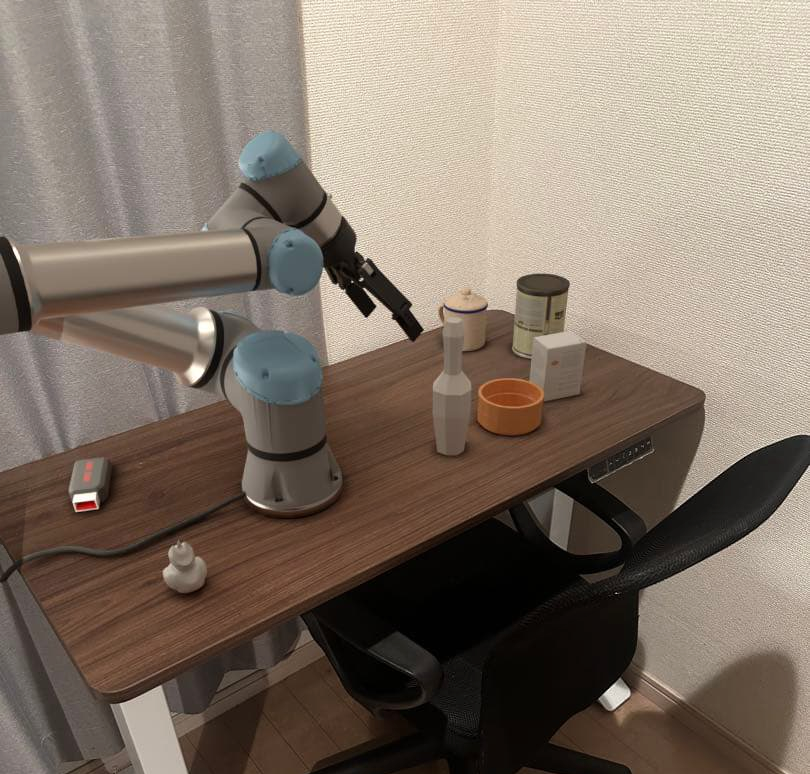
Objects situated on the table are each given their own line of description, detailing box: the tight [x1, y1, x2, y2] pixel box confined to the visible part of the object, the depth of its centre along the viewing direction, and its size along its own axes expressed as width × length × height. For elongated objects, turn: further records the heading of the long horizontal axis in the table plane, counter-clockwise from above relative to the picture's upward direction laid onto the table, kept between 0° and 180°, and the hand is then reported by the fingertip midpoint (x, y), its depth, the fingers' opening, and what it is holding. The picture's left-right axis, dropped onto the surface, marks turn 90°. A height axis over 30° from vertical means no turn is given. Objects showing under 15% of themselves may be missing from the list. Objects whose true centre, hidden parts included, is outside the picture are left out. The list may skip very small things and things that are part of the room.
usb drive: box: [68, 456, 113, 513], centre depth 116 cm, size 5×12×3 cm, turn 13°
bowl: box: [476, 377, 545, 436], centre depth 130 cm, size 11×11×6 cm
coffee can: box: [511, 273, 571, 360], centre depth 151 cm, size 10×10×14 cm
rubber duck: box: [162, 539, 208, 594], centre depth 96 cm, size 5×7×8 cm
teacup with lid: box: [437, 286, 489, 352], centre depth 156 cm, size 12×9×12 cm
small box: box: [529, 330, 587, 403], centre depth 137 cm, size 8×6×10 cm
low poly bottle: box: [432, 317, 472, 456], centre depth 118 cm, size 6×6×22 cm
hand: (393, 323), depth 128 cm, fingers open, 13 cm apart
